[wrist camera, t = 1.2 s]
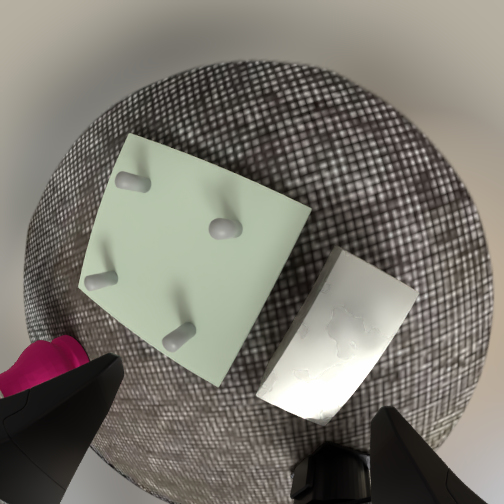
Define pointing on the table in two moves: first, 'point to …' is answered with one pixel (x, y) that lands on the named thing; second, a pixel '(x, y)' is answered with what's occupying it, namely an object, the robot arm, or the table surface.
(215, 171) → the pale green peg board
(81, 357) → the pepper mill
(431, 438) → the table surface
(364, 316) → the block
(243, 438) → the table surface
